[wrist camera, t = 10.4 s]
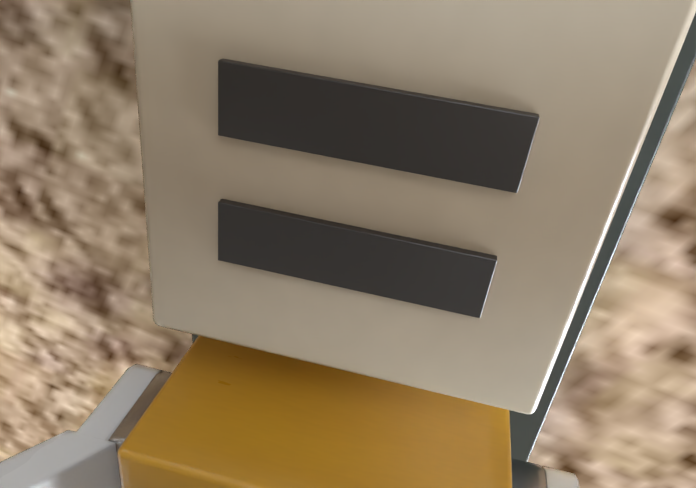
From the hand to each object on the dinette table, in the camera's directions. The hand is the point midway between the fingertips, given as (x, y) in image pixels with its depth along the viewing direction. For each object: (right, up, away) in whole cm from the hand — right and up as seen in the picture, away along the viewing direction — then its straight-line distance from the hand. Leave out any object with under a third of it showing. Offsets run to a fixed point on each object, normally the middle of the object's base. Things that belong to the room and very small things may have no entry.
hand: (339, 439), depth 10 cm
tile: (+1, +6, -1) cm, 6 cm away
